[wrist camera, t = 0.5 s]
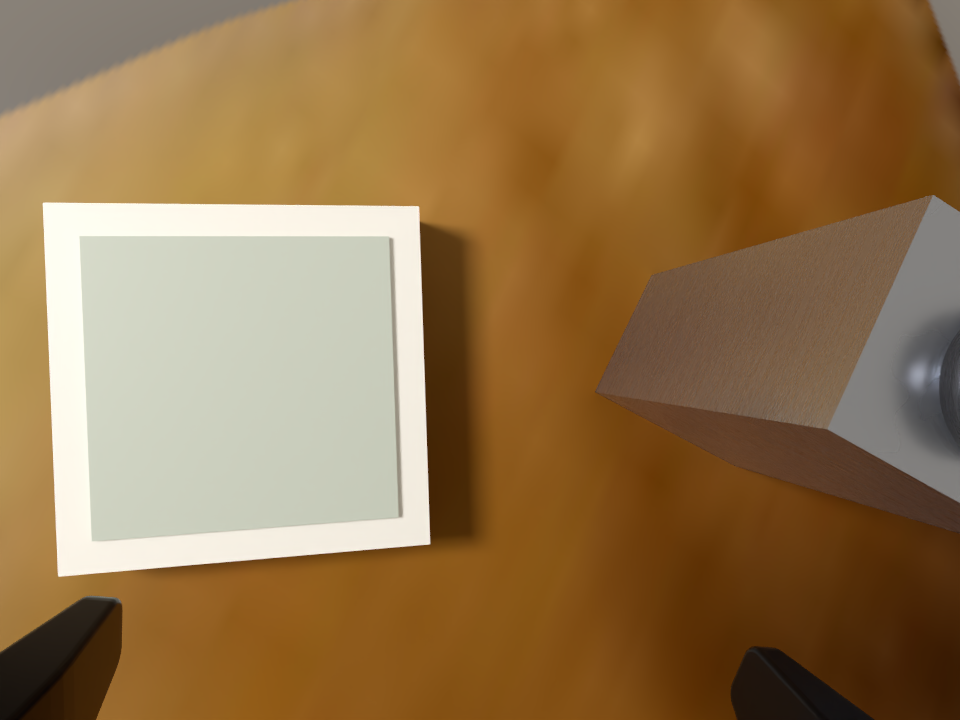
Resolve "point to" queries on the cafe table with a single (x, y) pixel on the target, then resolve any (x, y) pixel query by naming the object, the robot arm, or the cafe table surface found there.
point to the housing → (815, 359)
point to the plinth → (234, 382)
